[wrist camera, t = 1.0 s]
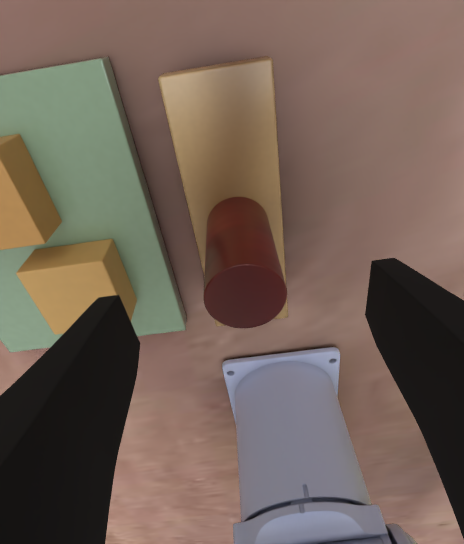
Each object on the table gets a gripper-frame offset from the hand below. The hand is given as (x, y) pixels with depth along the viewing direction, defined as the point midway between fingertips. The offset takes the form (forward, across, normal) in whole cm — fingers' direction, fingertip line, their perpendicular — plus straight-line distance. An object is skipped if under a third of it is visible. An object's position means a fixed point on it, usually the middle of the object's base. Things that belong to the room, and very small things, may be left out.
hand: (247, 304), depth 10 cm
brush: (+8, 0, 0) cm, 8 cm away
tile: (+8, +10, +1) cm, 13 cm away
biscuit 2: (+7, +8, +3) cm, 11 cm away
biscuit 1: (+7, +10, -2) cm, 13 cm away
